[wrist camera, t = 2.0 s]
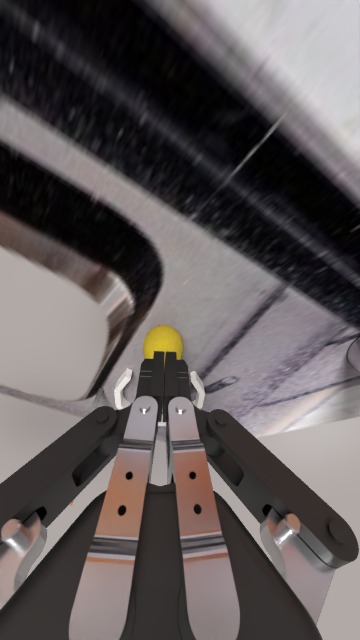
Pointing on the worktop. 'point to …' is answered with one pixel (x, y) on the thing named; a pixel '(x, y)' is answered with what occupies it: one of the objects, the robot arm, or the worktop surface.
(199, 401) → the white arc
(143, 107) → the worktop surface
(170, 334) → the lemon
